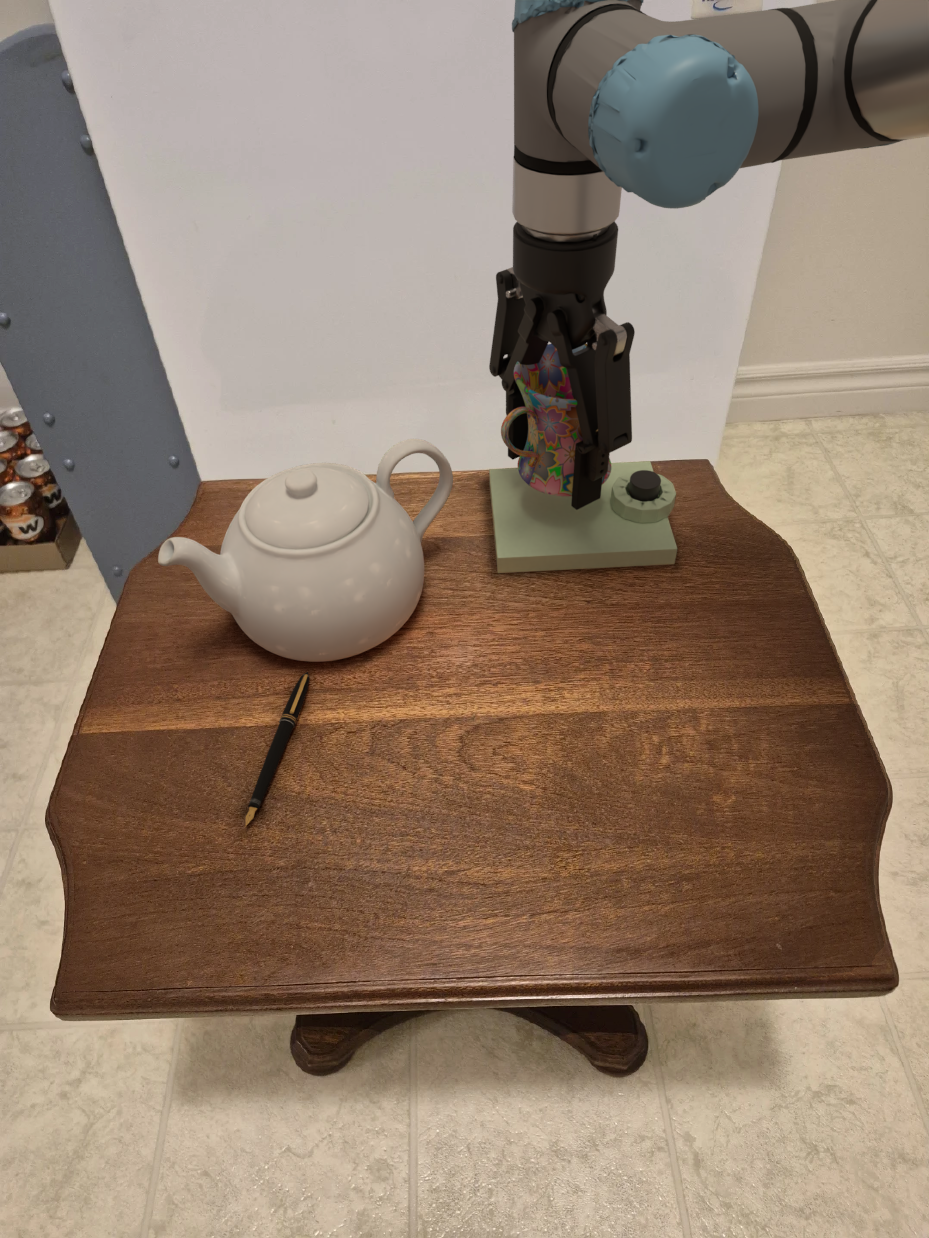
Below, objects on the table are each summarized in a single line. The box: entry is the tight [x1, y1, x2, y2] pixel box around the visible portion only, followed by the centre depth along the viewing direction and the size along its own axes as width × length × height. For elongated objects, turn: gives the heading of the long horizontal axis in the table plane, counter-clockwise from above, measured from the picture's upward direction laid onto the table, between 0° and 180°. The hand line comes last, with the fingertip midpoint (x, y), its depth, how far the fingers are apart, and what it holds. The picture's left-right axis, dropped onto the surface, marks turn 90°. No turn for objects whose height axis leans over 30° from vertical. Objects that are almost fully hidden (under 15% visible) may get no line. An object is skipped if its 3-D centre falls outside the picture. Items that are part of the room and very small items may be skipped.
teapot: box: [157, 438, 454, 663], centre depth 70 cm, size 19×18×14 cm
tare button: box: [628, 470, 661, 502], centre depth 78 cm, size 3×3×2 cm
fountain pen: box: [244, 671, 311, 828], centre depth 63 cm, size 14×1×2 cm, turn 170°
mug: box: [500, 343, 612, 496], centre depth 73 cm, size 12×9×11 cm
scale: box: [488, 460, 678, 574], centre depth 79 cm, size 17×13×4 cm
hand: (552, 476), depth 77 cm, fingers closed on mug, 8 cm apart
